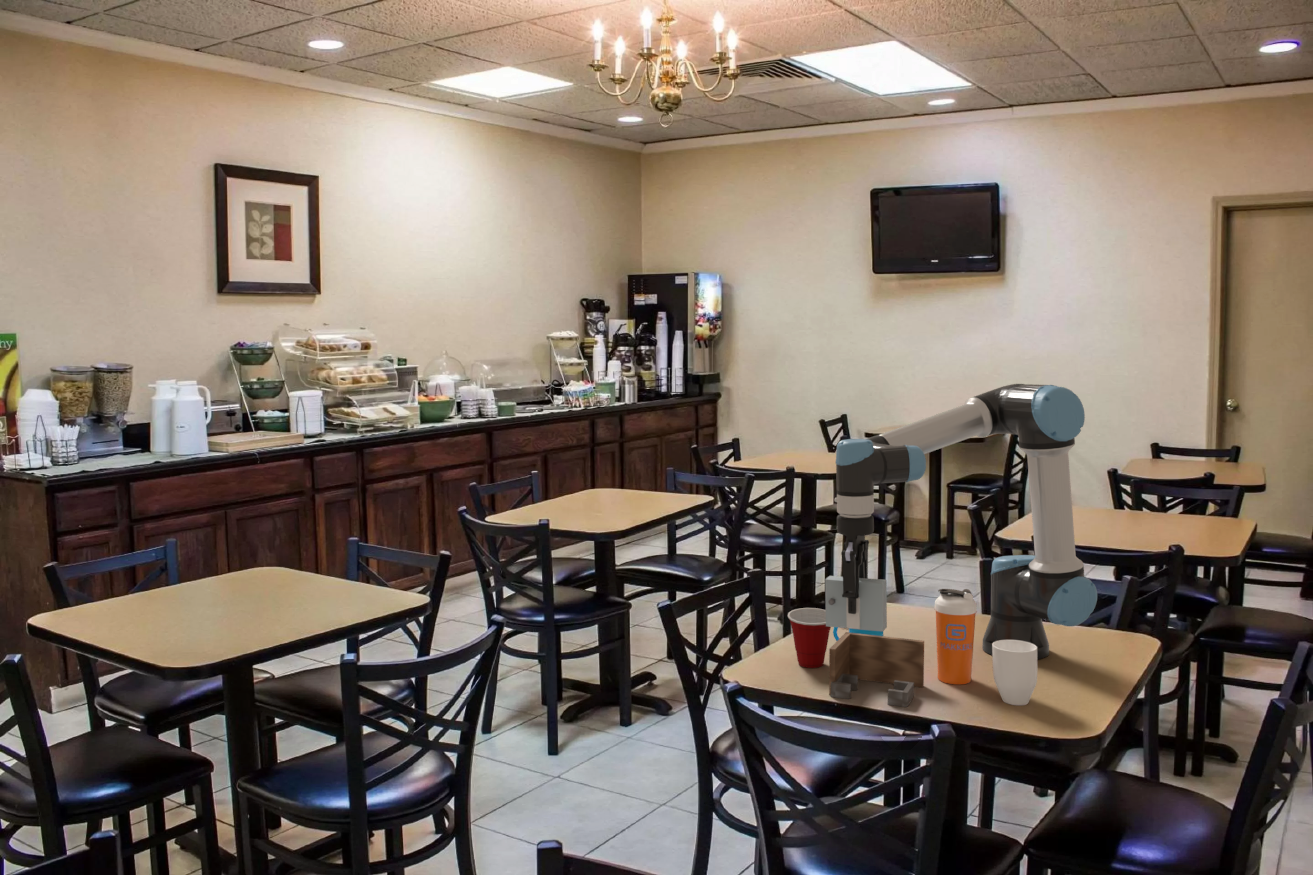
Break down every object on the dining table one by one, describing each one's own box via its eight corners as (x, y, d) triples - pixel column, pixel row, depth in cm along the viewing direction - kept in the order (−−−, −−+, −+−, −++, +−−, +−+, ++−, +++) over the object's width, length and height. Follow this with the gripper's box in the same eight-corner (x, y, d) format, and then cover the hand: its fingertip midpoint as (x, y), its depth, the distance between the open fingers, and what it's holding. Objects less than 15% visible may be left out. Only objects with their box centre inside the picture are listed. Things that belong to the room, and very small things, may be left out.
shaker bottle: (929, 672, 237) (930, 585, 236) (969, 672, 237) (971, 585, 235) (938, 686, 229) (940, 595, 227) (980, 686, 228) (982, 595, 226)
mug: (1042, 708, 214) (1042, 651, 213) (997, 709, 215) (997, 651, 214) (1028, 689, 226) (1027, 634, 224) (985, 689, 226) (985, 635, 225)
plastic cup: (790, 672, 239) (790, 620, 238) (784, 657, 250) (784, 607, 249) (838, 671, 239) (838, 619, 238) (830, 657, 250) (831, 607, 249)
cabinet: (923, 685, 229) (924, 640, 228) (910, 707, 216) (910, 659, 215) (845, 675, 236) (845, 632, 235) (827, 696, 223) (828, 649, 222)
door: (886, 626, 219) (886, 579, 218) (881, 632, 215) (881, 584, 214) (830, 621, 224) (829, 575, 223) (824, 627, 220) (823, 580, 219)
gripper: (847, 506, 227) (848, 613, 229) (826, 520, 212) (827, 634, 214) (882, 508, 224) (883, 616, 226) (863, 522, 209) (864, 637, 211)
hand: (856, 624), depth 220 cm, fingers closed on door, 3 cm apart
